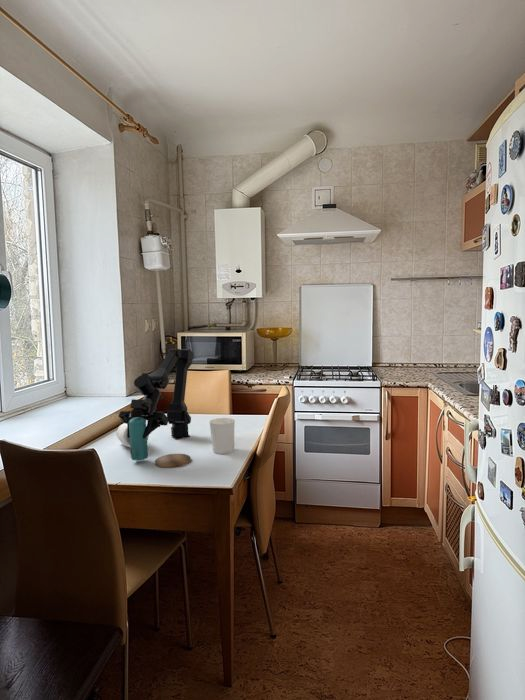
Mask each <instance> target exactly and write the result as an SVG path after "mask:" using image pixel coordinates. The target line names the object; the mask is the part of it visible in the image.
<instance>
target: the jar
mask: <svg viewBox="0 0 525 700" xmlns="http://www.w3.org/2000/svg"><path fill="white" fill-rule="evenodd" d="M149 436H150V434H149V435H148V436H147V440H148V441H149V438H150V437H149ZM116 437H117V440H119V442H120V443H121V444H122V445H123V446H125V447H128V448H130V438H128V437H127V424H126V423H124V422H122V424H121V423H120V425H119V426H118V428H117V431H116Z"/></svg>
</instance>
